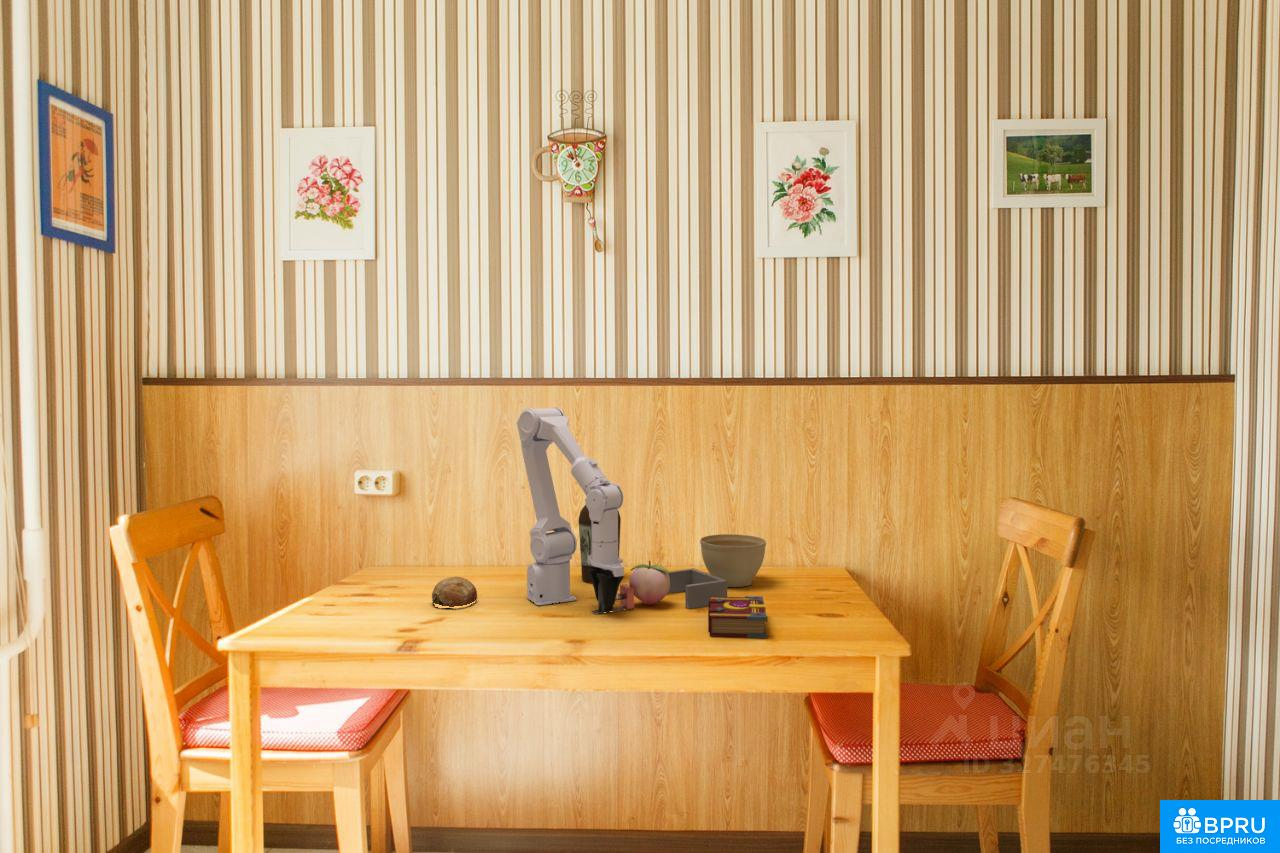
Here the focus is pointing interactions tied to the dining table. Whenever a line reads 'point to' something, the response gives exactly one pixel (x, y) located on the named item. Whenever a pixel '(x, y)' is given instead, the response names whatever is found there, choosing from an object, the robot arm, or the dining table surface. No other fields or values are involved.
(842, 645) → the dining table surface
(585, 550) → the olive oil
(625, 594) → the kicker rod
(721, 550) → the planter bowl
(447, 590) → the bread roll
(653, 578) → the decorative fruit
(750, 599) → the decorative book
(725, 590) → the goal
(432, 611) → the dining table surface
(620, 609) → the rail strip
